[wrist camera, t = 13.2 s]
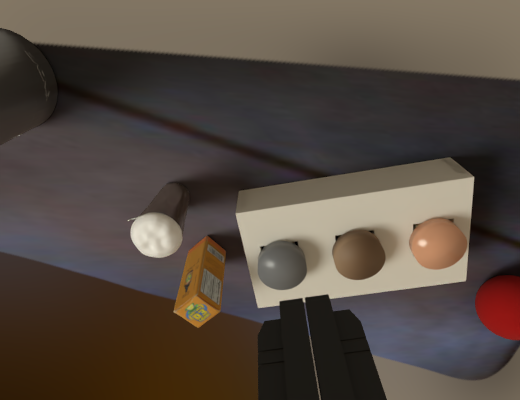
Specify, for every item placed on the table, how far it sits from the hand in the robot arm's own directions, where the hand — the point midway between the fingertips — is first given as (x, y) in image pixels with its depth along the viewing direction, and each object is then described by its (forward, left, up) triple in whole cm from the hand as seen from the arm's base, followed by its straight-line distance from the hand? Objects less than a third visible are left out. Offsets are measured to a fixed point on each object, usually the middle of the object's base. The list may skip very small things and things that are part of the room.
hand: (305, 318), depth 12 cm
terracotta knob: (+13, -14, -28) cm, 34 cm away
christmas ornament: (+22, -26, -28) cm, 45 cm away
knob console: (+5, -14, -28) cm, 32 cm away
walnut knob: (+5, -14, -28) cm, 31 cm away
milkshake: (-13, -7, -28) cm, 32 cm away
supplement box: (-11, -15, -28) cm, 34 cm away
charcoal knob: (-2, -14, -28) cm, 31 cm away
